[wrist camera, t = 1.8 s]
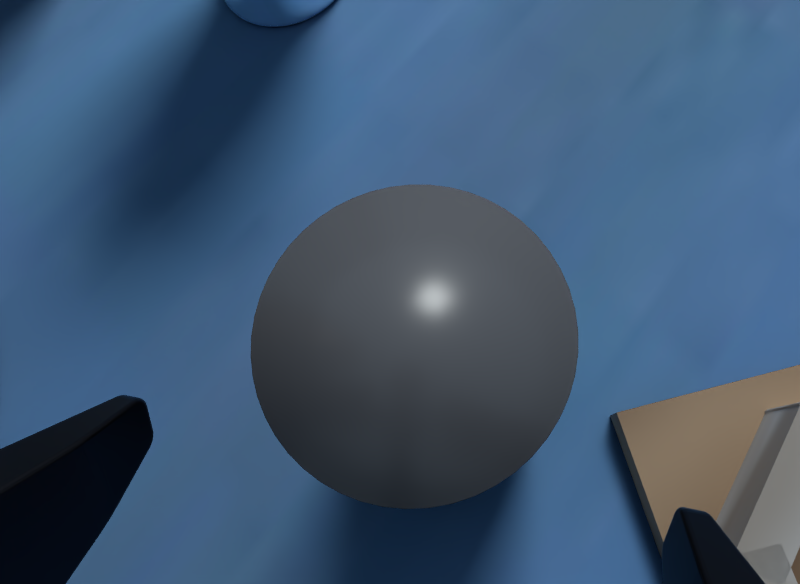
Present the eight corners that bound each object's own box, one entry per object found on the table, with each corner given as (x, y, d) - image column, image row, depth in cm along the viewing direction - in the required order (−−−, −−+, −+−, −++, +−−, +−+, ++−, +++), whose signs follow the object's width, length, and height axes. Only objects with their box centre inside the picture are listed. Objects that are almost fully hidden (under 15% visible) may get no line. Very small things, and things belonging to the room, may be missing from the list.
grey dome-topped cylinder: (560, 464, 18) (634, 460, 9) (386, 509, 19) (278, 551, 9) (506, 297, 20) (520, 145, 11) (349, 341, 20) (226, 231, 11)
